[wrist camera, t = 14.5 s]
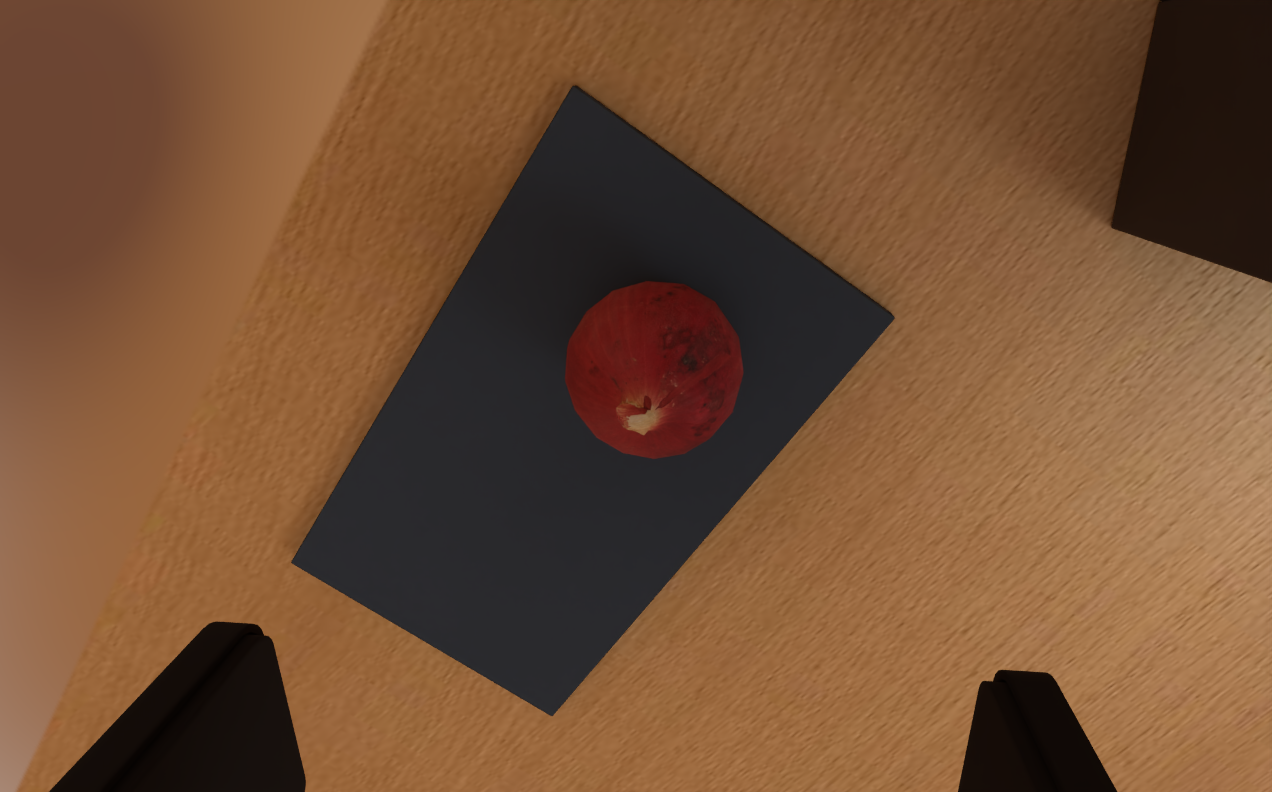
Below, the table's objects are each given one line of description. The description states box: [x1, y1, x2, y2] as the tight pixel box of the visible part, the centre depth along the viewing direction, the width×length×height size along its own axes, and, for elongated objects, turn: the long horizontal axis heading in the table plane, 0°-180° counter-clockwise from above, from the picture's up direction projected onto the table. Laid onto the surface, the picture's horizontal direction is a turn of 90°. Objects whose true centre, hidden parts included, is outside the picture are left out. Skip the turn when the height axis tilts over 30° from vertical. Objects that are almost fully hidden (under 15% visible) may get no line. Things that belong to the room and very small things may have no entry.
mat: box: [291, 86, 895, 716], centre depth 31 cm, size 24×14×1 cm, turn 146°
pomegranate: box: [565, 281, 744, 459], centre depth 25 cm, size 6×6×8 cm
